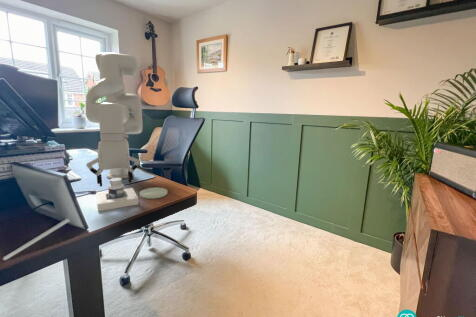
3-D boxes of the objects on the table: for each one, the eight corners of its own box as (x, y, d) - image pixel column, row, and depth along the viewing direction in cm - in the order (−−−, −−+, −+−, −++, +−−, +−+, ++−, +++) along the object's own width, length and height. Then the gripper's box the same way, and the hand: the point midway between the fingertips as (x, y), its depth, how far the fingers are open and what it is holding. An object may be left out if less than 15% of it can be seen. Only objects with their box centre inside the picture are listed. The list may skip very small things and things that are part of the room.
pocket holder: (96, 198, 90) (96, 192, 89) (132, 193, 97) (132, 187, 96) (98, 211, 79) (97, 204, 79) (138, 204, 86) (138, 198, 86)
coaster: (137, 192, 99) (137, 189, 98) (163, 188, 104) (163, 186, 104) (142, 200, 90) (142, 198, 89) (170, 196, 95) (170, 193, 95)
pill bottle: (106, 202, 87) (104, 179, 85) (119, 198, 91) (118, 176, 90) (114, 205, 84) (113, 182, 83) (127, 201, 89) (126, 178, 87)
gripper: (136, 136, 91) (138, 178, 94) (84, 137, 81) (88, 184, 84) (140, 138, 84) (142, 183, 87) (83, 139, 75) (88, 189, 78)
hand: (115, 183), depth 86 cm, fingers open, 9 cm apart
